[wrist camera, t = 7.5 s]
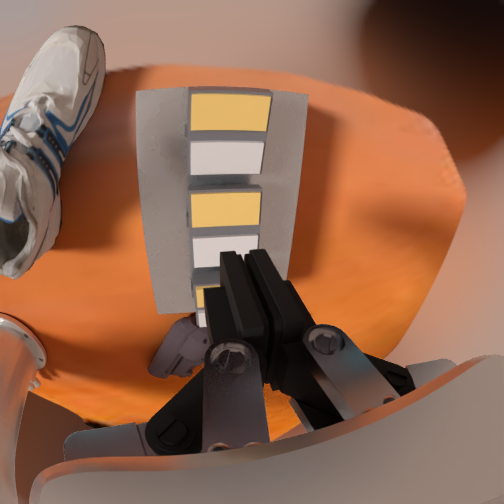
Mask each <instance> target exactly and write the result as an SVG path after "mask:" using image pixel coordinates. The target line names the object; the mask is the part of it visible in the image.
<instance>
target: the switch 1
mask: <svg viewBox="0 0 504 504" xmlns="http://www.w3.org/2000/svg"><path fill="white" fill-rule="evenodd" d="M192 279H193V291H194V302H195V311H196V321H197V326H199V327H207V326H206V319H205V309H204V296H203V288H210V287H220V271H212V272H197V273H192Z"/></svg>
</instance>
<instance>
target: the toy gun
mask: <svg viewBox="0 0 504 504" xmlns="http://www.w3.org/2000/svg"><path fill="white" fill-rule="evenodd" d="M209 346H210V344H209V338H208V332H207V327H199V326H197V321H196V316H192V317H183V318H181V319H179V320H178V321H176V322H175V323H174V324H173V325H172V326H171V328H170V330H169V332H168V333H167V335H166V337H165V339H164V341H163V342H162V344H161V346H160V348H159V349H158V351H157V353H156V355H155V357H154V358H153V360H152V362H151V364H150V366H149V367H148V368H147V369H148V372H149V373H150V374H151V375H153V376H156V377H160V378H167V377H168V376H169V374H170V375H178V376H179V377H186V376H189V377H190V376H191V375H192V374H193V373H192V369H193V368H194V367H195V366H200V365H201V364H202V362H204V357H205V353H206V350H207V349H208V348H209Z"/></svg>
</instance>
